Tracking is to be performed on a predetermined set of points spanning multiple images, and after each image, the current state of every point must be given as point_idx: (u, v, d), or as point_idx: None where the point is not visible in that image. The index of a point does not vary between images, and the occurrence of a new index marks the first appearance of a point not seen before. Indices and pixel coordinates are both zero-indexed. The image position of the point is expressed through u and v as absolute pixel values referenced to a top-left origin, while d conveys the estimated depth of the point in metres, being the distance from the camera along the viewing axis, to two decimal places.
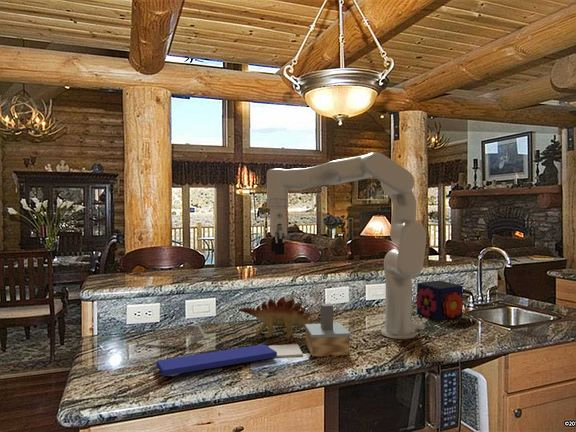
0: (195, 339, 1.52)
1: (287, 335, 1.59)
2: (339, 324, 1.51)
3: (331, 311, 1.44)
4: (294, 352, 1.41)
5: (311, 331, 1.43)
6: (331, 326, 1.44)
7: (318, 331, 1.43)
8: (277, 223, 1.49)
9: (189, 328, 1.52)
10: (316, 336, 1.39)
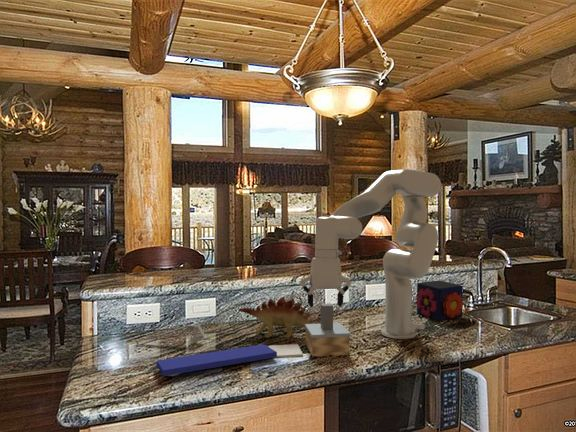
0: (195, 339, 1.52)
1: (287, 335, 1.59)
2: (339, 324, 1.51)
3: (331, 311, 1.44)
4: (294, 352, 1.41)
5: (311, 331, 1.43)
6: (331, 326, 1.44)
7: (318, 331, 1.43)
8: None
9: (189, 328, 1.52)
10: (316, 336, 1.39)
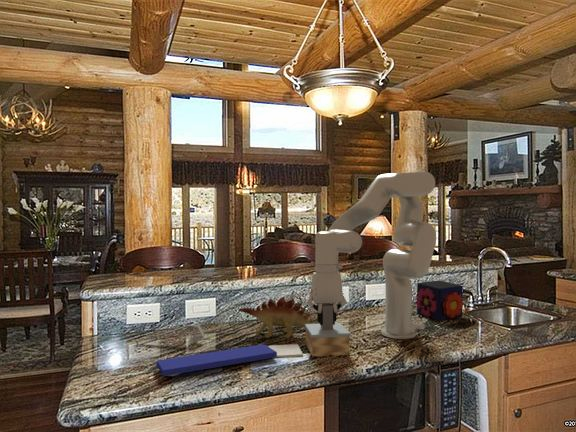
0: (194, 339, 1.52)
1: (287, 335, 1.59)
2: (339, 324, 1.51)
3: (331, 311, 1.44)
4: (294, 352, 1.41)
5: (311, 331, 1.43)
6: (331, 326, 1.44)
7: (318, 331, 1.43)
8: None
9: (188, 328, 1.52)
10: (316, 336, 1.39)
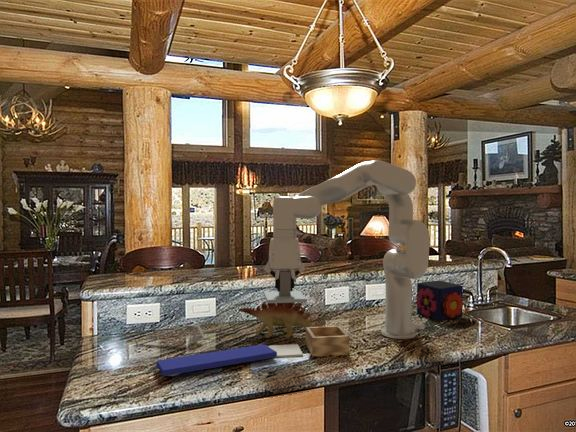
0: (194, 339, 1.52)
1: (287, 335, 1.59)
2: (298, 292, 1.48)
3: (288, 277, 1.42)
4: (294, 352, 1.41)
5: (268, 297, 1.40)
6: (288, 292, 1.42)
7: (274, 297, 1.40)
8: None
9: (188, 328, 1.52)
10: (272, 301, 1.37)
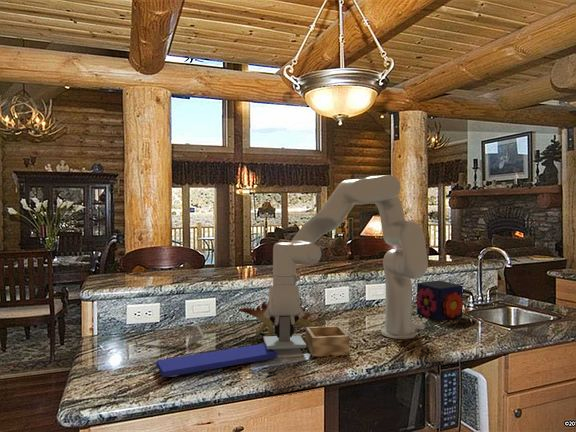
0: (194, 339, 1.52)
1: None
2: (298, 336, 1.48)
3: (288, 322, 1.42)
4: (294, 352, 1.41)
5: (267, 342, 1.41)
6: (288, 338, 1.42)
7: (274, 342, 1.41)
8: (299, 300, 1.43)
9: (188, 328, 1.52)
10: (271, 347, 1.37)
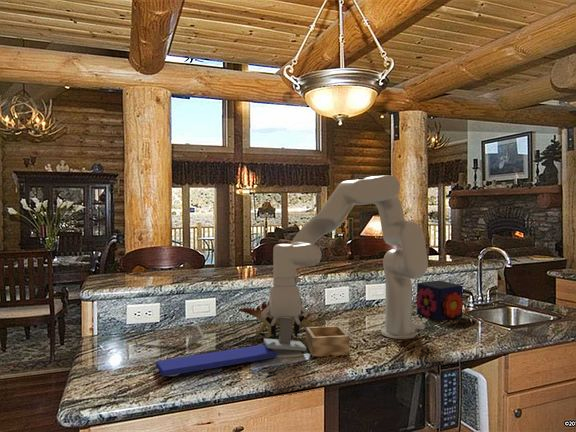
0: (194, 339, 1.52)
1: None
2: (298, 341, 1.48)
3: (290, 324, 1.43)
4: (294, 352, 1.41)
5: (267, 342, 1.41)
6: (288, 340, 1.42)
7: (274, 343, 1.41)
8: None
9: (188, 328, 1.52)
10: (271, 346, 1.37)
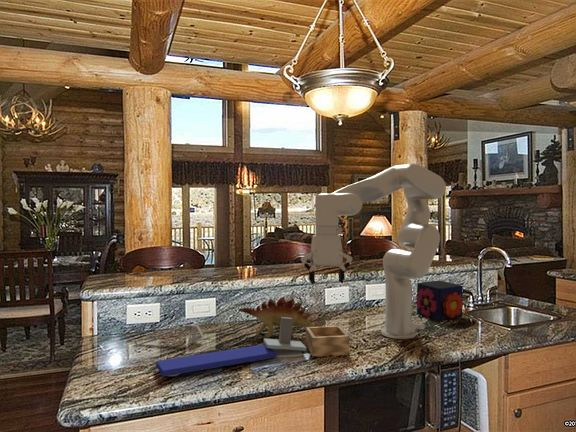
0: (193, 339, 1.52)
1: None
2: (298, 341, 1.48)
3: (290, 324, 1.43)
4: (294, 352, 1.41)
5: (267, 342, 1.41)
6: (289, 340, 1.42)
7: (274, 343, 1.41)
8: None
9: (187, 328, 1.52)
10: (271, 346, 1.37)
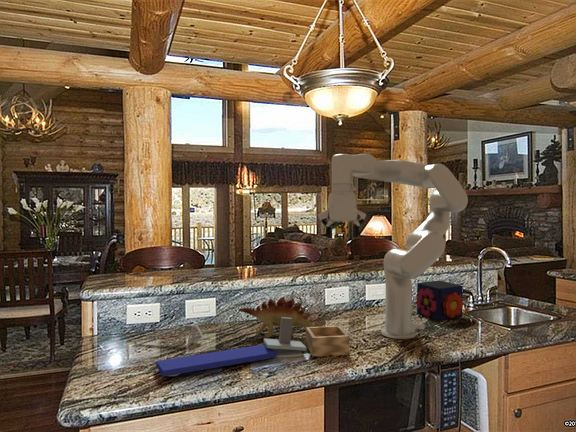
0: (193, 339, 1.52)
1: None
2: (298, 341, 1.48)
3: (290, 324, 1.43)
4: (294, 352, 1.41)
5: (268, 342, 1.41)
6: (289, 340, 1.42)
7: (274, 343, 1.41)
8: None
9: (187, 328, 1.52)
10: (271, 346, 1.37)
